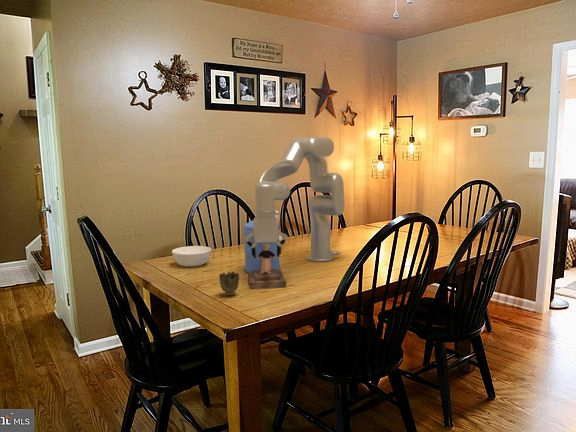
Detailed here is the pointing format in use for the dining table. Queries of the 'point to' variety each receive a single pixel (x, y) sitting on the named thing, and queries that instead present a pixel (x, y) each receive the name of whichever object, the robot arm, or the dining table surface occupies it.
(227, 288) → the cup
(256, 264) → the water jug
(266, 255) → the grandmother figurine
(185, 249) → the bowl
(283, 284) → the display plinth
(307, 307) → the dining table surface
